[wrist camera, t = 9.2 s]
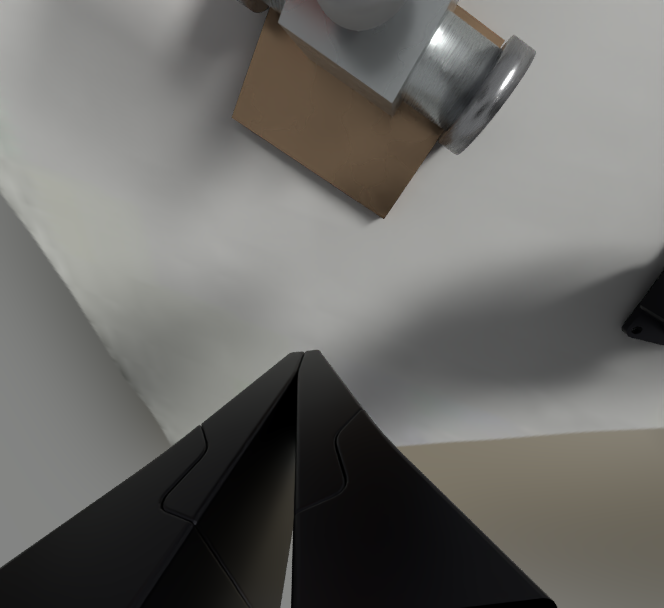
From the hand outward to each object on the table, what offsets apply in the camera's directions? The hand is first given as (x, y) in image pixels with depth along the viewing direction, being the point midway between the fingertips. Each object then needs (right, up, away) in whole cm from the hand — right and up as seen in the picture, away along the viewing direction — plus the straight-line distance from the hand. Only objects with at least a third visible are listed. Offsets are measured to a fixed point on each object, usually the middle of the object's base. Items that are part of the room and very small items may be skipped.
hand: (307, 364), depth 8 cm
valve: (+2, +13, +7) cm, 15 cm away
